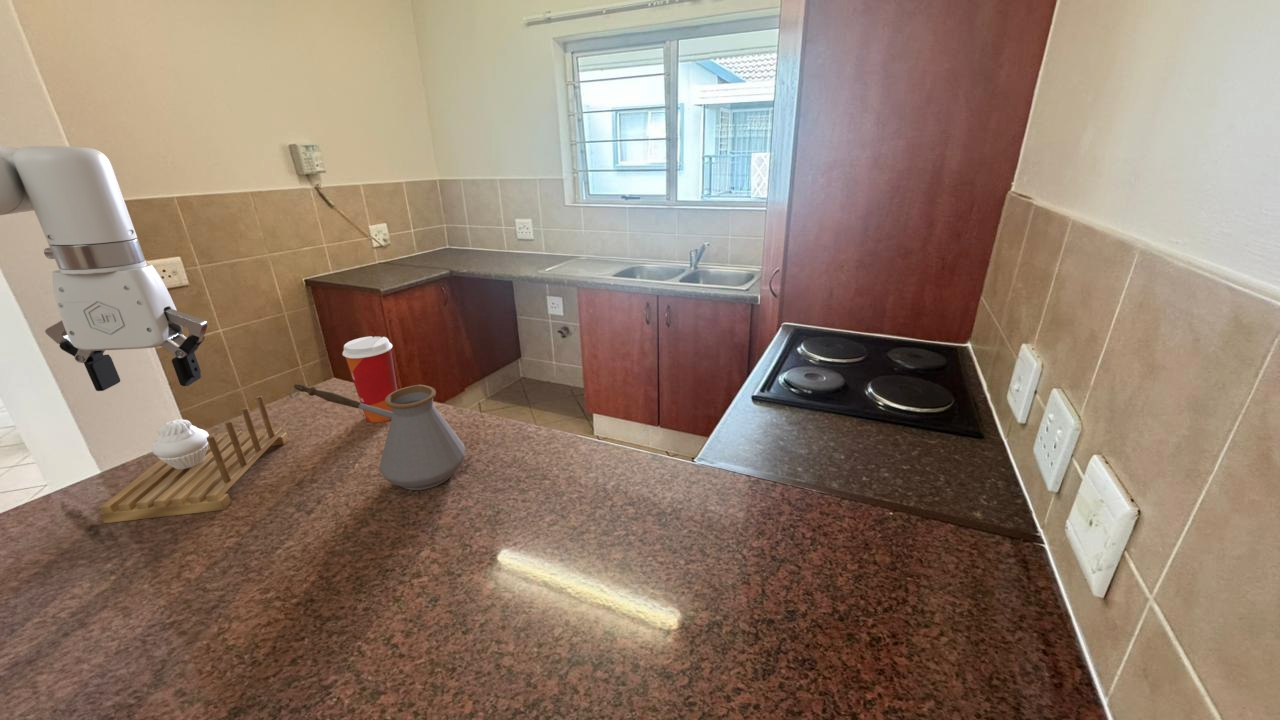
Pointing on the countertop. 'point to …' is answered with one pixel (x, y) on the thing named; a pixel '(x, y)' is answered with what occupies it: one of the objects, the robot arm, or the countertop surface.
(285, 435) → the rack
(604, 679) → the countertop surface
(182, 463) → the muffin
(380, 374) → the paper cup
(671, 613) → the countertop surface
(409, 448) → the coffee pot
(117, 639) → the countertop surface
